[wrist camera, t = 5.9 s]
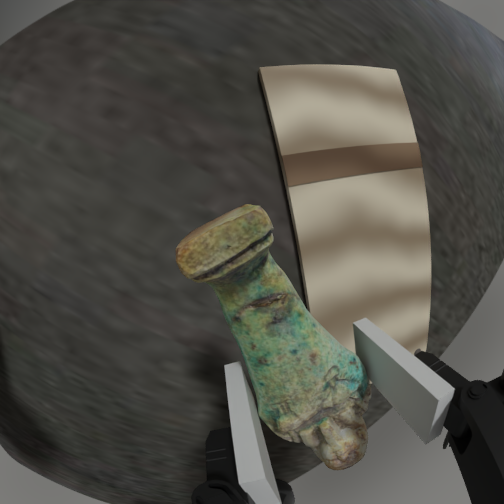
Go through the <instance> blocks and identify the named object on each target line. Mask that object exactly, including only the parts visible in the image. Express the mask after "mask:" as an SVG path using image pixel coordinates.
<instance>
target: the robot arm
mask: <svg viewBox="0 0 504 504" xmlns="http://www.w3.org/2000/svg"><path fill="white" fill-rule="evenodd" d="M353 330H354V340H355V351H356V355H357V356H358V357H359V359H360V360H361V362H362V363H363V365H364V367H365V369H366V373H367V377H368V379H369V380H370V381H371V382H372V383H373V384H374V386H375V387H376V388H377V389H378V390H379V391H380V392H381V394H382V395H383V396H384V397H385V398H386V399H387V400H388V402H389V403H390V404H391V405H392V406H393V407H394V409H395V410H396V411H397V412H398V413H399V414H400V415H401V416H402V418H403V419H404V420H405V421H406V422H407V424H408V425H409V426H410V427H411V428H412V429H413V430H414V432H415V433H416V434H417V435H418V436H419V437H420V439H421V440H422V441H423V442H424V443H425V444H427V443H429V442H430V441H432V440H433V439H435V438H436V437H437V436H439V435H440V434H441V431H442V429H443V426H444V427H445V428H446V429H447V430H448V433H447V435H446V438H445V440H444V444H443V449H446V447H447V445H448V443H449V447H450V446H451V448H452V451H453V453H454V455H455V458H456V461H457V463H458V466H459V468H460V471H461V474H462V476H463V479H464V482H465V485H466V488H467V491H468V494H469V497H470V500H471V503H472V504H504V370H503V373H502V376H500V377H498V378H496V379H494V380H492V381H490V382H487V383H486V382H484V381H481V380H474V381H471V382H470V381H468V380H467V379H465V378H464V377H463V376H461V375H460V374H459V373H457V372H456V371H455V370H453V369H452V368H451V367H449V366H448V365H446V364H445V363H444V362H443V361H440V359H438V358H437V357H436V356H434V355H433V354H431V353H428V352H424V351H420V352H419V353H417V354H415V355H413V354H411V353H410V352H409V351H408V350H406V349H405V348H404V347H403V346H401V345H400V344H399V343H398V342H396V341H395V340H394V339H393V338H391V337H390V336H389V335H387V334H386V333H385V332H384V331H382V330H381V329H380V328H379V327H377V326H376V325H375V324H373V323H372V322H371V321H370V320H368V319H367V318H363V319H361V320H359V321H356V322H354V323H353ZM224 367H225V377H226V386H227V396H228V405H229V413H230V422H231V427H228V428H223V429H219V430H213V431H210V433H209V435H208V437H207V440H206V453H207V454H206V460H207V462H206V467H207V481H206V482H205V483H203V484H201V485H199V486H198V487H197V488H196V489H195V490H194V492H193V494H192V497H191V499H192V504H294V502H295V498H294V494H293V491H292V488H291V486H290V485H289V484H288V483H286V482H284V481H281V480H277V479H275V477H274V474H273V470H272V466H271V462H270V459H269V455H268V451H267V447H266V443H265V440H264V436H263V432H262V428H261V424H260V420H259V416H258V412H257V408H256V404H255V400H254V397H253V395H252V392H251V389H250V387H249V384H248V381H247V379H246V376H245V373H244V370H243V368H242V365H241V362H240V361H238V362H235V363H231V364H227V365H224Z"/></svg>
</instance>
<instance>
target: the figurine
mask: <svg viewBox="0 0 504 504" xmlns="http://www.w3.org/2000/svg"><path fill="white" fill-rule="evenodd" d="M273 229H274V228H273V226H272V223H271V221H270V219H269V217H268V215H267V213H266V212H265V211H264V210H263V209H262V208H261V207H260V206H254V205H248V204H245V205H243V206H240V207H238V208H236V209H234V210H232V211H230V212H228V213H226V214H224V215H222V216H220V217H218V218H216V219H214V220H212V221H210V222H208V223H206V224H204V225H202V226H200V227H198V228H197V229H195V230H193V231H191V232H190V233H189V234H188V235H187V236H186V237H185V238H184V239H183V240H182V241H181V242H180V243H179V244H178V246H177V248H176V262H177V264H178V267H179V269H180V271H181V273H182V274H183V275H184V276H185V277H187V278H191V279H192V280H193V281H195V282H198V283H199V282H206V283H207V284H209V285H210V286H211V287H212V288H213V289H214V291H215V293H216V295H217V297H218V299H219V301H220V304H221V307H222V310H223V313H224V316H225V318H226V321H227V323H228V326H229V328H230V330H231V332H232V333H233V335H234V337H235V339H236V341H237V343H238V345H239V348H240V350H241V352H242V354H243V357H244V360H245V363H246V365H247V368H248V372H249V375H250V378H251V381H252V384H253V387H254V390H255V393H256V397H257V403H258V415H259V417H260V418H261V419H262V420H263V421H264V422H265V423H266V425H267V426H268V427H269V428H270V429H271V430H272V431H273V432H274V433H275V434H276V435H278V436H279V437H281V438H283V439H285V440H288V441H294V442H298V443H299V442H304V444H305V445H306V446H309V447H311V448H312V449H313V451H314V453H315V454H316V455H317V457H318V458H320V459H321V460H322V461H323V462H324V463H325V464H326V466H327V467H328V468H330V469H333V470H343V469H346V468H348V467H351V466H353V465H354V464H356V463H357V462H359V461H360V460H361V459H362V458H363V457H364V455H365V452H366V448H367V443H368V433H367V428H366V425H365V422H364V420H363V418H362V415H363V414H364V412H365V411H367V408H368V402H369V399H371V384H370V381H369V379H368V377H367V373H366V369H365V367H364V365H363V363H362V362H361V360H360V359H359V357H358V356H357V355H356V354H355V353H353V352H352V351H350V350H348V349H347V348H345V347H344V346H342V345H341V344H340V343H339V342H338V341H337V340H336V339H335V338H334V337H333V336H332V335H331V334H330V333H329V332H328V331H327V330H326V329H325V328H324V327H323V326H322V325H321V324H320V323H319V322H318V321H317V320H316V319H315V318H314V317H313V316H312V315H311V314H310V312H309V311H308V310H307V309H306V307H305V305H304V304H303V302H302V301H301V299H300V297H299V296H298V294H297V292H296V291H295V289H294V287H293V285H292V284H291V282H290V280H289V279H288V277H287V276H286V274H285V273H284V271H283V270H282V269H281V268H280V267H279V266H278V265H277V264H276V263H275V261H274V260H273V258H272V257H271V255H270V253H269V250H268V248H269V246H270V245H271V244H272V242H273V241H274V237H273V234H272V231H273Z"/></svg>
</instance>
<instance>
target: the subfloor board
mask: <svg viewBox="0 0 504 504" xmlns="http://www.w3.org/2000/svg"><path fill="white" fill-rule="evenodd" d="M258 73H259V77H260V81H261V84H262V88H263V92H264V96H265V100H266V104H267V108H268V112H269V116H270V120H271V124H272V128H273V133H274V137H275V141H276V146H277V150H278V154H279V159H280V163H281V168H282V173H283V177H284V182H285V187H286V192H287V197H288V201H289V206H290V212H291V217H292V222H293V227H294V233H295V238H296V243H297V249H298V255H299V260H300V266H301V272H302V278H303V284H304V290H305V297H306V303H307V310H308V311H309V312H310V314H311V315H312V316H313V317H314V318H315V319H316V320H317V321H318V322H319V323H320V324H321V325H322V326H323V327H324V328H325V329H326V330H327V331H328V332H329V333H330V334H331V335H332V336H333V337H334V338H335V339H336V340H337V341H338V342H339V343H340V344H341V345H342V346H344V347H345V348H347V349H348V350H350V351H352V352H353V353H355V354H356V351H355V340H354V330H353V323H354V322H356V321H359V320H361V319H363V318H367V319H368V320H370V321H371V322H372V323H373V324H375V325H376V326H377V327H379V328H380V329H381V330H382V331H384V332H385V333H386V334H387V335H389V336H390V337H391V338H393V339H394V340H395V341H396V342H398V343H399V344H400V345H401V346H403V347H404V348H405V349H406V350H408V351H409V352H410V353H411V354H413V355H415V354H417V353H419V352H420V351H424V352H426V347H427V338H428V329H429V317H430V300H431V245H430V228H429V216H428V206H427V197H426V190H425V183H424V176H423V170H422V167H423V166H422V161H421V156H420V151H419V146H418V142H417V140H416V136H415V131H414V127H413V123H412V119H411V116H410V112H409V109H408V105H407V102H406V98H405V95H404V92H403V89H402V86H401V83H400V80H399V77H398V74H397V72H396V70H393V69H385V68H376V67H365V66H351V65H286V66H271V67H260V68H259V71H258ZM369 381H370V380H369ZM370 384H372V382H371V381H370Z"/></svg>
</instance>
